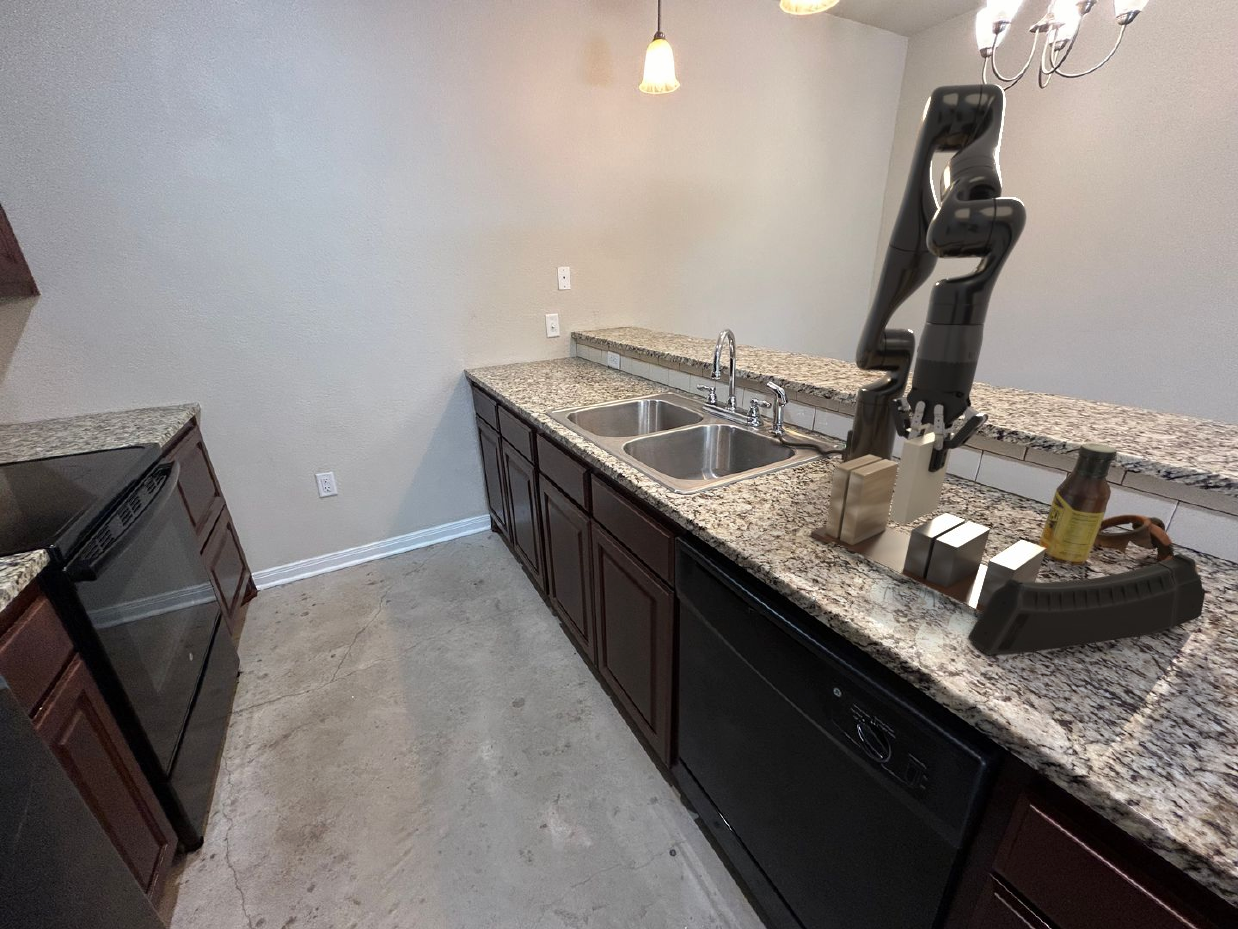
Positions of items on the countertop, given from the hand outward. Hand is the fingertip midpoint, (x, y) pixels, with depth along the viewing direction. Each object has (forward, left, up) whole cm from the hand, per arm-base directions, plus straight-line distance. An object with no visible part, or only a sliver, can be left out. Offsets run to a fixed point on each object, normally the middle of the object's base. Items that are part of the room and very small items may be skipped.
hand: (923, 467), depth 77 cm
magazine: (+23, -1, -16) cm, 29 cm away
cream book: (0, 0, -8) cm, 8 cm away
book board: (+2, 0, -16) cm, 16 cm away
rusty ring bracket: (+20, +31, -16) cm, 41 cm away
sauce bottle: (+14, +20, -16) cm, 30 cm away
